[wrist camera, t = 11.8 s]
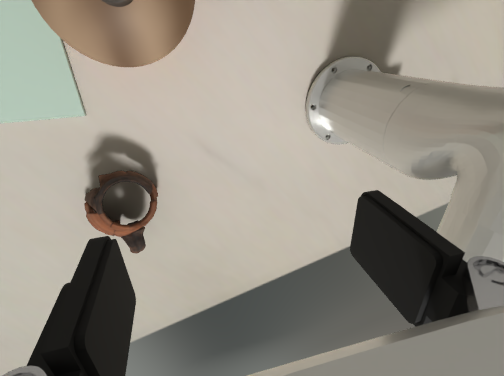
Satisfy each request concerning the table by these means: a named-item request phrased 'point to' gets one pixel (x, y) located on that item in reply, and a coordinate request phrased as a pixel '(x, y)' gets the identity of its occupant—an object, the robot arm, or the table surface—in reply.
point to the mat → (33, 68)
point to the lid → (119, 27)
